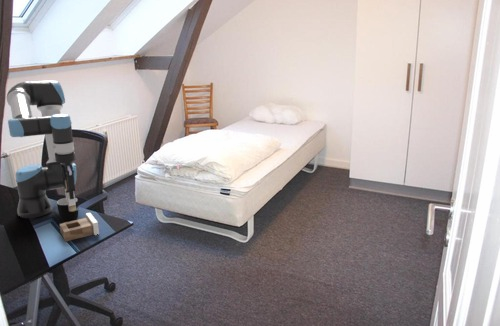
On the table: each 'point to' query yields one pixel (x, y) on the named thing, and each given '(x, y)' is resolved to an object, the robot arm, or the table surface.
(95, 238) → the table surface
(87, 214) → the rail
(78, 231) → the block
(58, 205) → the mug
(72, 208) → the dowel
